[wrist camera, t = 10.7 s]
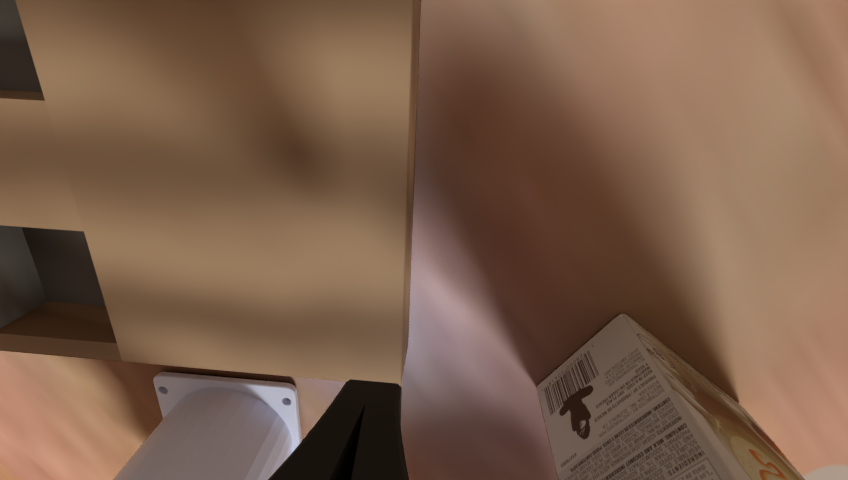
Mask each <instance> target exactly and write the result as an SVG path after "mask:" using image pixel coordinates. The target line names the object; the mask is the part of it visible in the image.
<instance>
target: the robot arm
mask: <svg viewBox="0 0 848 480" xmlns="http://www.w3.org/2000/svg"><path fill="white" fill-rule="evenodd" d="M153 383H154V387H155V390H156V394H157V398H158V402H159V405H160V409H161V413H162V417H163V420H162V421H161V423H160V424H159V425H158V426H157V427H156V429H155V430H154V431H153V432H152V433H151V435H150V436H149V437H148V438H147V439H146V441H145V442H144V443H143V444H142V445H141V446H140V448H139V449H138V450H137V451H136V452H135V454H134V455H133V456H132V457H131V458H130V460H129V461H128V462H127V463H126V464H125V466H124V467H123V468H122V469H121V470H120V472H119V473H118V474H117V475H116V476H115V478H114V479H113V480H409V478H408V473H407V467H406V462H405V456H404V449H403V443H402V436H401V426H400V421H401V390H402V388H401V387H400V386H399V385H398V384H397V383H386V382H375V381H364V380H353V379H350V380H349V381H347V382H346V383H345V385H344V386H343V388H342V389H341V391H340V392H339V394H338V395H337V396H336V398H335V399H334V401H333V402H332V403H331V405H330V406H329V408H328V409H327V410H326V412H325V413H324V414H323V415H322V417H321V418H320V419H319V421H318V422H317V423H316V424H315V426H314V427H313V428H312V429H311V431H310V432H309V433H308V434H307V436H306V437H305V438H304V439H303V440H302V438H301V427H300V417H299V406H298V396H297V389H296V387H295V386H294V385H292V384H290V383H283V382H272V381H261V380H250V379H239V378H228V377H217V376H206V375H195V374H184V373H173V372H159V373H158V374H157V375H156V376H155V377H154V379H153ZM286 398H288V399H290V400H288V399H286Z"/></svg>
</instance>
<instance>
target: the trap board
mask: <svg viewBox="0 0 848 480" xmlns="http://www.w3.org/2000/svg"><path fill="white" fill-rule="evenodd" d="M420 12H421V0H0V351H11V352H22V353H34V354H45V355H56V356H67V357H78V358H89V359H101V360H112V361H123V362H134V363H145V364H156V365H168V366H179V367H190V368H201V369H212V370H224V371H235V372H246V373H257V374H268V375H279V376H291V377H302V378H313V379H324V380H335V381H346V382H347V381H349V380H350V379H353V380H364V381H375V382H386V383H397V384H398V385H399V386H401V382H402V376H403V370H404V365H405V359H406V353H407V348H408V331H409V305H410V278H411V251H412V225H413V198H414V172H415V145H416V118H417V92H418V65H419V38H420Z"/></svg>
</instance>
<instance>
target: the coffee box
mask: <svg viewBox="0 0 848 480" xmlns="http://www.w3.org/2000/svg"><path fill="white" fill-rule="evenodd" d="M537 391H538V396H539V401H540V405H541V409H542V413H543V417H544V421H545V426H546V430H547V434H548V439H549V443H550V448H551V452H552V456H553V460H554V464H555V469H556V473H557V477H558V480H805V479H804V478H803V477H802V476H801V474H800V473H799V472H798V471H797V470H796V469H795V467H794V466H793V465H792V464H791V463H790V461H789V460H788V459H787V458H786V457H785V455H784V454H783V453H782V452H781V450H780V449H779V448H778V447H777V446H776V444H775V443H774V442H773V441H772V440H771V438H770V437H769V436H768V435H767V434H766V433H765V432H764V430H763V429H762V428H761V427H760V426H759V425H758V424H757V422H756V421H755V420H754V419H753V418H752V417H751V416H750V415H749V413H748V412H747V411H746V410H745V409H744V408H743V407H742V406H741V405H739V404H738V403H737V402H736V401H734V400H733V399H732V398H731V397H729V396H728V395H727V394H725V393H724V392H723V391H722V390H721V389H719V388H718V387H717V386H716V385H714V384H713V383H712V382H710V381H709V380H708V379H707V378H705V377H704V376H703V375H702V374H700V373H699V372H698V371H697V370H695V369H694V368H693V367H691V366H690V365H689V364H688V363H686V362H685V361H684V360H683V359H681V358H680V357H679V356H678V355H676V354H675V353H674V352H673V351H671V350H670V349H669V348H668V347H666V346H665V345H664V344H663V343H661V342H660V341H659V340H658V339H656V338H655V337H654V336H653V335H651V334H650V333H649V332H648V331H646V330H645V329H644V328H643V327H641V326H640V325H639V324H638V323H636V322H635V321H634V320H633V319H631V318H630V317H629V316H627V315H626V314H619V315H618V316H617V317H616V318H614V319H613V320H612V321H611V322H610V323H609V324H607V325H606V326H605V327H604V328H603V329H602V330H601V331H599V332H598V333H597V334H596V335H595V336H594V337H593V338H591V339H590V340H589V341H588V342H587V343H586V344H584V345H583V346H582V347H581V348H580V349H579V350H578V351H576V352H575V353H574V354H573V355H572V356H571V357H570V358H568V359H567V360H566V361H565V362H564V363H563V364H562V365H560V366H559V367H558V368H557V369H556V370H555V371H554V372H553V373H551V374H550V375H549V376H548V377H547V378H546V379H544V380H543V381H542V382H541V383H540V384H539V385H538V386H537Z"/></svg>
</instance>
